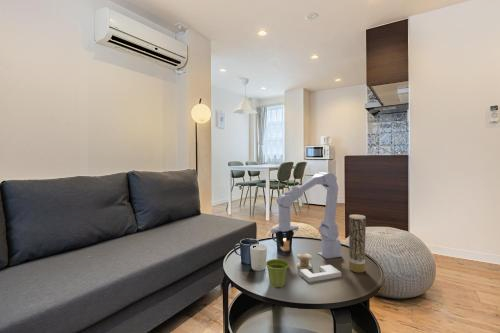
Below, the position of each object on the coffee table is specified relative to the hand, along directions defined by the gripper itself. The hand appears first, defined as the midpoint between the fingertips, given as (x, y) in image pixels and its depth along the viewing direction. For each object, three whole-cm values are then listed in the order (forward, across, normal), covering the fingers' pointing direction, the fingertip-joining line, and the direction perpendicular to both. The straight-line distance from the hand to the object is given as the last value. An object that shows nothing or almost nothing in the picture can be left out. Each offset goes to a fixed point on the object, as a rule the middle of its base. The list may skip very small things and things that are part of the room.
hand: (284, 245), depth 129 cm
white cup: (+8, +15, +3) cm, 17 cm away
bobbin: (+8, -6, +9) cm, 13 cm away
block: (+2, 0, 0) cm, 2 cm away
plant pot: (+8, +13, +20) cm, 25 cm away
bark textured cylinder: (+8, -27, +20) cm, 35 cm away
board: (+8, -8, +19) cm, 22 cm away
